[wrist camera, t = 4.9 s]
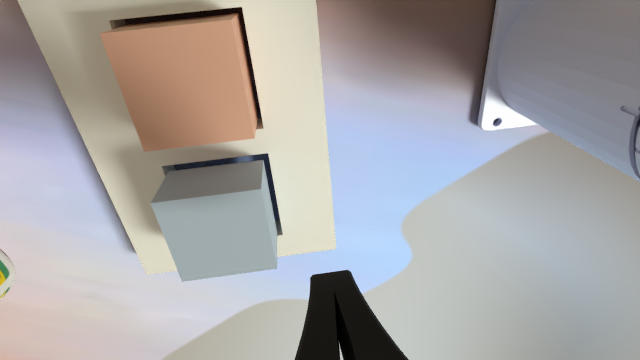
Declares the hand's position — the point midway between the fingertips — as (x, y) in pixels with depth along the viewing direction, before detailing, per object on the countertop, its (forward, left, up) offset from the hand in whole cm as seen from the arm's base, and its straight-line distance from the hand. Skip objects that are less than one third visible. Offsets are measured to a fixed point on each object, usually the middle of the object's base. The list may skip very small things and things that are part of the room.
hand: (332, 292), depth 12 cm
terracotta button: (+5, -6, -9) cm, 12 cm away
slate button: (+5, +1, -8) cm, 10 cm away
